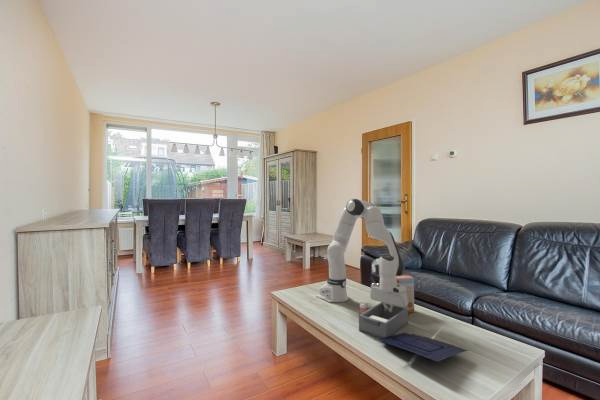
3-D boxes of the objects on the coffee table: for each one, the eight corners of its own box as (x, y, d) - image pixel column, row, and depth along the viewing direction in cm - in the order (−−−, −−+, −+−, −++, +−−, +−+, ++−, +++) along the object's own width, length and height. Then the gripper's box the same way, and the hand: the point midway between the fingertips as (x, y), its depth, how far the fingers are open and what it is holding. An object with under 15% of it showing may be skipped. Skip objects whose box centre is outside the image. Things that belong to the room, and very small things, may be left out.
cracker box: (409, 308, 175) (408, 274, 175) (414, 312, 169) (414, 277, 169) (387, 310, 173) (387, 276, 173) (392, 314, 167) (392, 278, 167)
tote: (357, 331, 146) (357, 315, 146) (383, 315, 166) (382, 301, 166) (385, 341, 135) (384, 324, 135) (408, 322, 155) (408, 308, 155)
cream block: (365, 328, 146) (365, 319, 146) (372, 324, 151) (371, 315, 151) (383, 335, 139) (383, 324, 139) (389, 330, 145) (389, 320, 145)
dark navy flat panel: (407, 337, 145) (407, 330, 145) (469, 357, 120) (468, 348, 121) (375, 345, 131) (375, 337, 132) (437, 369, 107) (437, 359, 107)
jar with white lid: (360, 317, 164) (359, 302, 165) (369, 316, 163) (367, 302, 164) (360, 319, 159) (359, 304, 160) (370, 319, 158) (368, 304, 159)
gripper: (368, 283, 159) (368, 308, 159) (403, 291, 145) (404, 318, 145) (373, 281, 164) (373, 305, 164) (408, 288, 150) (409, 314, 150)
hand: (388, 311), depth 154 cm, fingers closed
